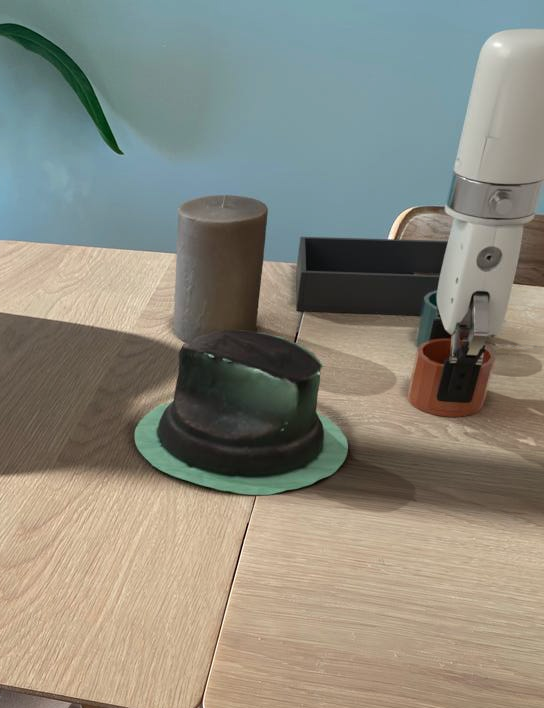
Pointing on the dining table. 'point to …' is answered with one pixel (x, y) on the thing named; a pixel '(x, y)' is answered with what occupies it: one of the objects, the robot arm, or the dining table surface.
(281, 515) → the dining table surface
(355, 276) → the tub
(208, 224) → the pillar candle
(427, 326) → the teal cup
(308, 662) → the dining table surface
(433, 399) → the orange cup
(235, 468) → the dark hat
